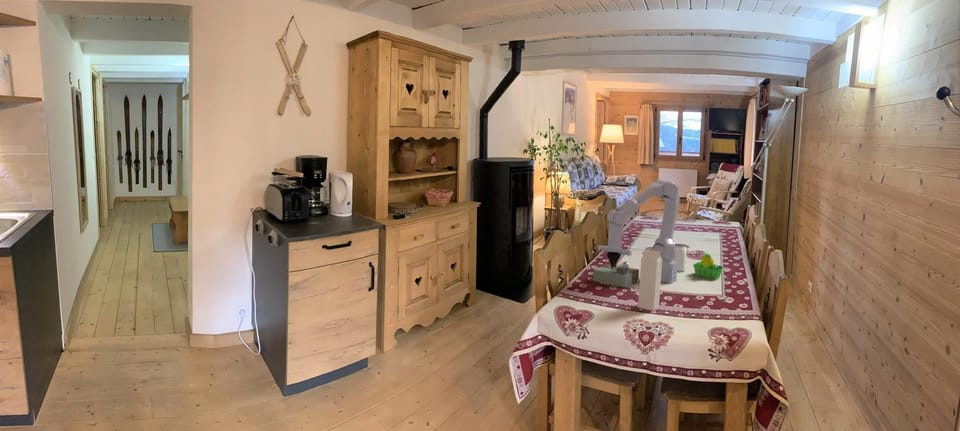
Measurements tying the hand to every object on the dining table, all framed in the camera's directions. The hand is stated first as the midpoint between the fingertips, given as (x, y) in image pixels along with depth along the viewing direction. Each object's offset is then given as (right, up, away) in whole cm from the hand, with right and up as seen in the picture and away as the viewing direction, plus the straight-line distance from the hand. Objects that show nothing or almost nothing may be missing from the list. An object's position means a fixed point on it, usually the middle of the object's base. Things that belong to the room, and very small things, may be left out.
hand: (613, 269), depth 238 cm
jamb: (+4, -5, +7) cm, 9 cm away
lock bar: (+3, 0, +1) cm, 4 cm away
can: (+36, -3, +22) cm, 42 cm away
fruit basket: (+45, -5, +12) cm, 47 cm away
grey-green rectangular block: (0, -6, +1) cm, 6 cm away
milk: (+6, -12, -29) cm, 32 cm away
